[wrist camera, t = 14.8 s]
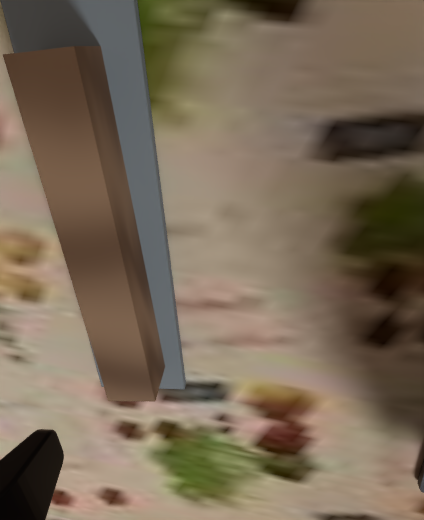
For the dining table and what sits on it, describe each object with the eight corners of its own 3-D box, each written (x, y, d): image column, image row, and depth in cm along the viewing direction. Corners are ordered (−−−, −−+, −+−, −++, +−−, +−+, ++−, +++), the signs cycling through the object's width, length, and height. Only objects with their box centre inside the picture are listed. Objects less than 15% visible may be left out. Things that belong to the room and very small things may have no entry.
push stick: (165, 366, 22) (155, 401, 20) (122, 366, 23) (108, 401, 21) (100, 45, 15) (73, 46, 13) (39, 53, 15) (2, 54, 13)
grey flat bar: (185, 382, 24) (184, 389, 23) (104, 380, 24) (101, 386, 24) (133, -31, 14) (129, -34, 14) (2, -18, 15) (-5, -20, 14)
